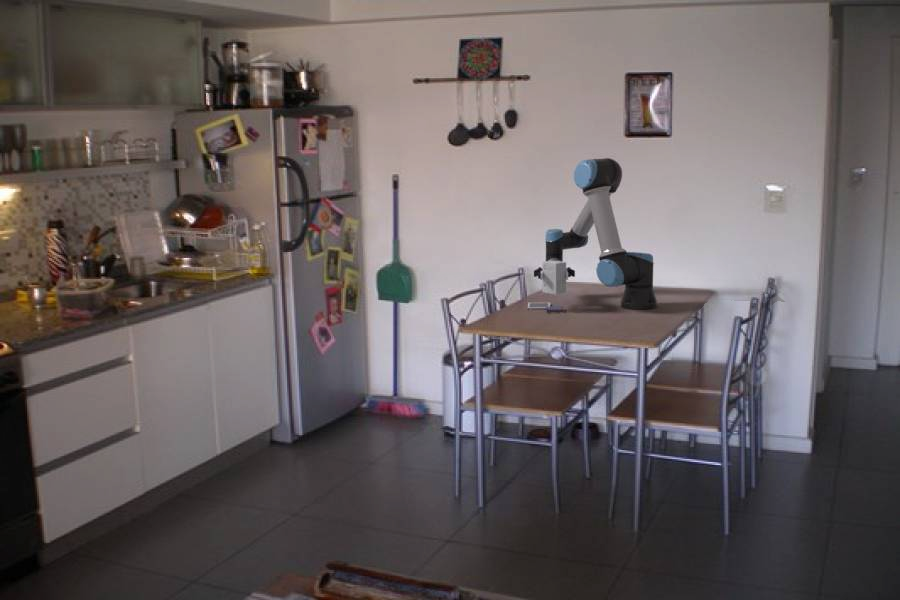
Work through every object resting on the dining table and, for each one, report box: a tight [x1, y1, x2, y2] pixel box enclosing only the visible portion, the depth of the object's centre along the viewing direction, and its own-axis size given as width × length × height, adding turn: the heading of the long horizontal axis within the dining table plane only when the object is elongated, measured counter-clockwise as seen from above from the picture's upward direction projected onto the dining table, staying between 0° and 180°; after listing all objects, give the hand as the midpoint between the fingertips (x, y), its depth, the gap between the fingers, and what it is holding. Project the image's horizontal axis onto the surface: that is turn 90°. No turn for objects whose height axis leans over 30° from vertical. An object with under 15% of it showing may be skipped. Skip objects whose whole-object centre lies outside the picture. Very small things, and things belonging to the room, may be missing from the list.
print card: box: [527, 301, 551, 310], centre depth 419 cm, size 9×11×1 cm
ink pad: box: [546, 306, 565, 314], centre depth 409 cm, size 7×7×1 cm
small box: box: [542, 260, 567, 295], centre depth 407 cm, size 8×6×13 cm
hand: (554, 276), depth 402 cm, fingers closed on small box, 10 cm apart
